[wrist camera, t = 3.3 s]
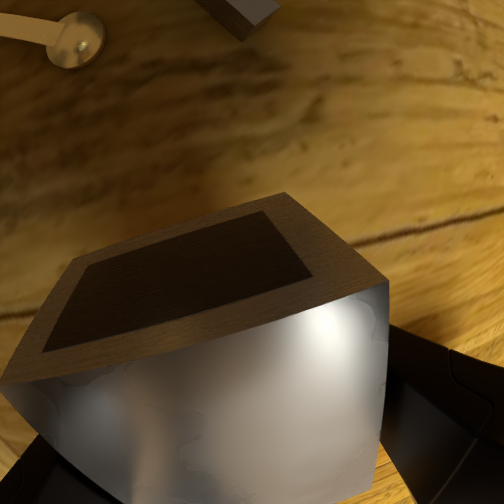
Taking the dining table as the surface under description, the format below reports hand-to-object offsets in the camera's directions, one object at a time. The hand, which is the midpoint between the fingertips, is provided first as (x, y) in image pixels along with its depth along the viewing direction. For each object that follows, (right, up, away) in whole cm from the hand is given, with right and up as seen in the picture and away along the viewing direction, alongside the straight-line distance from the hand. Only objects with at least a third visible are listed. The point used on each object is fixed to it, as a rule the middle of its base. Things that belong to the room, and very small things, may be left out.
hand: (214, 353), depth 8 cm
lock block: (0, 0, +1) cm, 1 cm away
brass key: (-9, +12, +1) cm, 15 cm away
